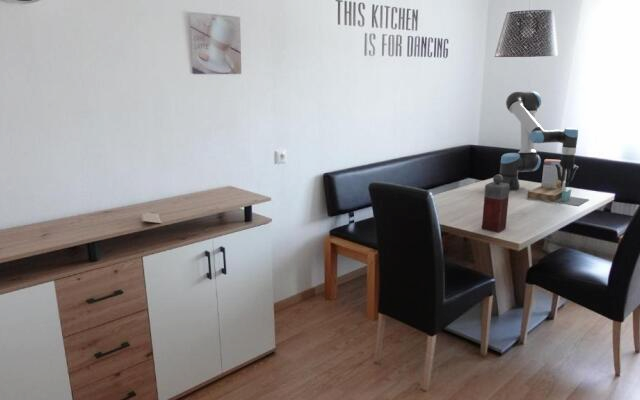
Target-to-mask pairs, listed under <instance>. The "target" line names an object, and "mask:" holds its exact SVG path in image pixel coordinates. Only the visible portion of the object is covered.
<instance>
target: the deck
mask: <svg viewBox="0 0 640 400" xmlns="http://www.w3.org/2000/svg"><path fill="white" fill-rule="evenodd" d="M527 198H528V199H534V200H539V201H541V200H542V201H546V202H551V203H555V202H554V201H556V200H558V199H560V198H562V189H556V188H549V187H543V186H537V187H535V188H533V189H530V190H528V191H527Z"/></svg>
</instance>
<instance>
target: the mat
mask: <svg viewBox="0 0 640 400" xmlns="http://www.w3.org/2000/svg"><path fill="white" fill-rule="evenodd" d="M561 199H562V198H560V199H558V200H556V201H554V202H553V203H557V204H558V203H559V204H563V205H564V204H565V205H569V206H570V205H571V206H576V207H579V206H581V205H583V204H585V203H586V202H588V201H590V199H588V198H582V197H576V196H571V195H570V199H568V200H566V201H561Z"/></svg>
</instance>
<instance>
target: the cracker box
mask: <svg viewBox="0 0 640 400" xmlns="http://www.w3.org/2000/svg"><path fill="white" fill-rule="evenodd" d="M560 161H561V159H550V158H546V159H544V161H543V170H542V179H541V184H540V185H541V186H543V187H549V188H556V189H562V186H561V180H558V174H557V168H556V166H555V165H556V164H559V163H560ZM560 169H561V177H562V167H561V165H560ZM566 174H567V169H566V173H565V180H564V181H566Z"/></svg>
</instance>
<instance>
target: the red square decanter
mask: <svg viewBox="0 0 640 400" xmlns="http://www.w3.org/2000/svg"><path fill="white" fill-rule="evenodd" d="M492 179H493V181H491V182H489V183H486V184H485V186H484V198H483V210H482V221H481V230H483V231H489V232H493V233H498V234H499V233H501V232H503V231H504V230H506V227H507V218H508V217H507V216H508V207H509V198H510V197H509V196H510V190H509V188H510V185H509V184H507V183H501V182H502V181H503V177H502V175H500V173H499V174H496V175H494V176H493V177H492Z"/></svg>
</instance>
